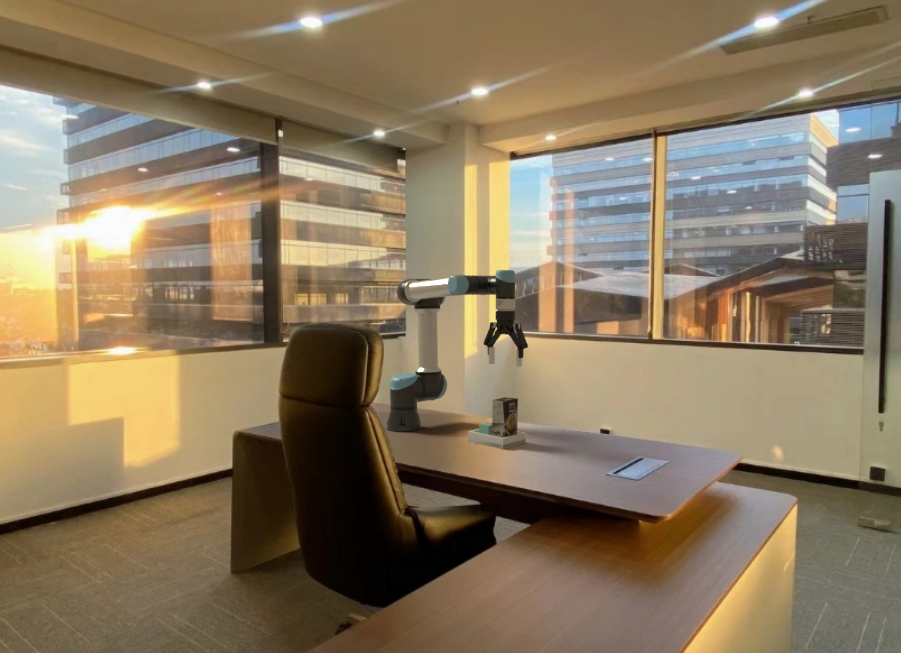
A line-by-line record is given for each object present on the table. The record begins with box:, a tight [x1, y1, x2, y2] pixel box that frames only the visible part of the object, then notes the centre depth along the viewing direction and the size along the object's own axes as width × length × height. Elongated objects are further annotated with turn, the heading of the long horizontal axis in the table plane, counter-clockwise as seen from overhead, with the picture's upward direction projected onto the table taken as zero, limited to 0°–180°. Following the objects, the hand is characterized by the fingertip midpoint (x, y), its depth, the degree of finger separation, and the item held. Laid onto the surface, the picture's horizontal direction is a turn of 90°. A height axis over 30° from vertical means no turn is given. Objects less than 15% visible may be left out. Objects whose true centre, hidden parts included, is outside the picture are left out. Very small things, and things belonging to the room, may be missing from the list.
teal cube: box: [478, 421, 492, 435], centre depth 250 cm, size 5×5×5 cm
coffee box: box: [491, 397, 519, 438], centre depth 243 cm, size 9×6×16 cm
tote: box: [467, 428, 527, 450], centre depth 246 cm, size 18×14×4 cm
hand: (505, 365), depth 242 cm, fingers open, 13 cm apart
